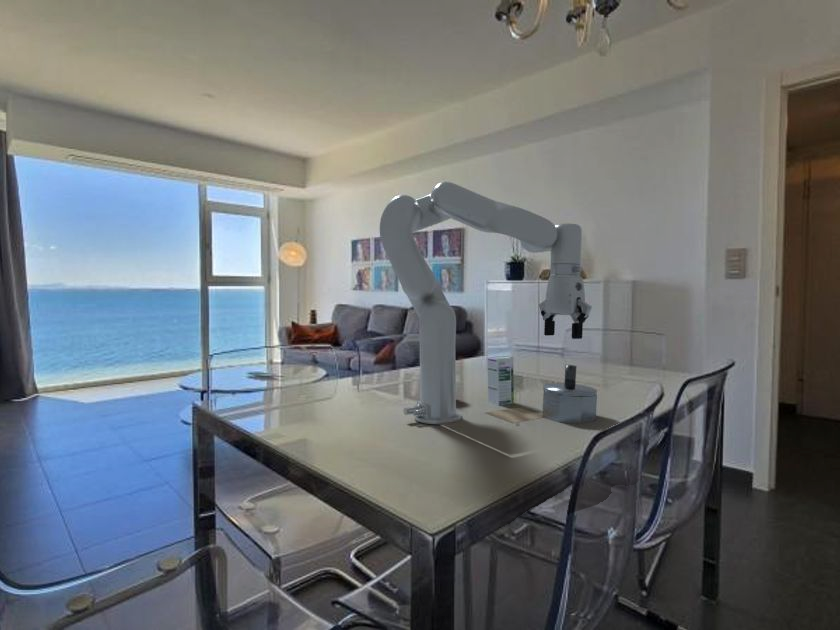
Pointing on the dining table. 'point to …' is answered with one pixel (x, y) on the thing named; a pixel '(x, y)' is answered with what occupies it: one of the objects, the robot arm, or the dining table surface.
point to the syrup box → (500, 380)
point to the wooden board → (515, 415)
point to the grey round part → (569, 400)
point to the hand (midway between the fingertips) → (562, 336)
